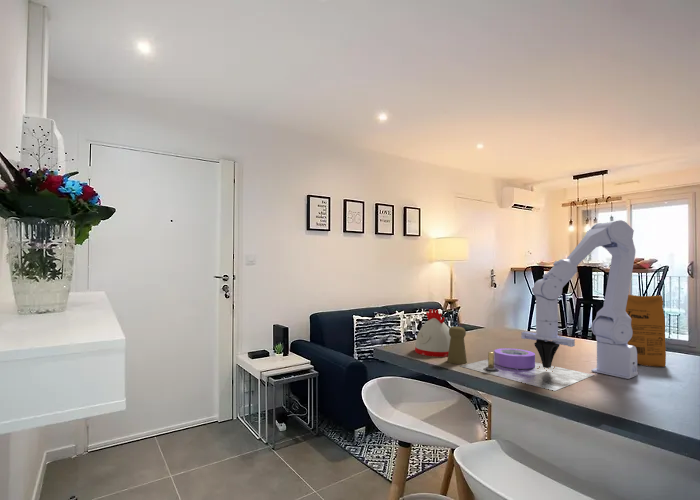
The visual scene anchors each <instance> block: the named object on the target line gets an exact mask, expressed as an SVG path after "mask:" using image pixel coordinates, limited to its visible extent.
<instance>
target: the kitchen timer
mask: <svg viewBox="0 0 700 500" xmlns="http://www.w3.org/2000/svg"><path fill="white" fill-rule="evenodd" d="M425 314H426V317H427V321H425V322H424V324H423V325H422V326H421V327H420V329H419V331H418V332H417V336H416V339H415V340H416V341H415V345H414V347H415V349H414V351H415V353H416V354H418V355H422V356H427V357H428V356H429V357H436V358H442V357H445V358H446V357H447V358H448V352H449V345H450V338H451V337H450V335H449V329H450V327H449V326H448V325H447V324H446V323H445V319H446V317H444V316H443V317H442V315H443V314H442V313H441V312H440V313H439V309H436V308H433V309H430V308H429V309H428V311H426V312H425Z"/></svg>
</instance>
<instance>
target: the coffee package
mask: <svg viewBox="0 0 700 500" xmlns="http://www.w3.org/2000/svg"><path fill="white" fill-rule="evenodd" d="M663 307H664V298H663V296H662V295H646V296H645V295H643V296H642V295H633V294H628V299H627V305H626V313H627V314H628V315H629V316H630V318H631V319H632V320H631V327H632V331H633V334H632V338H631V339H630V340H629V341H628V345H632V346H635V347H636V349H637V365H641V366H645V367H658V368H659V367H663V368H664V367H665V366H666V363H667V362H666V361H667V351H666V349H667V348H666V320H665V310H664V308H663Z"/></svg>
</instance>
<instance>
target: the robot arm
mask: <svg viewBox="0 0 700 500" xmlns="http://www.w3.org/2000/svg"><path fill="white" fill-rule="evenodd" d="M634 231H635V230H634V229H633V228H632V227H631V226H630V224H629V223H628V222H627V221H624V220H622V219H618V220H614V221H609V222H603V223H602V222H599V223H598V222H597V223H596V224H594V225H592V227H591V228H590V229H588V230H587V231H586V233H585V235H584V236H583V238H582V240H580V241H579V243H577V245H576V246H575V248H574V249H573V250H572V251H571V252H570V254H569V255H568V256H567V257H566V258H565V259H563V258H562V259H559V260H555V261H554V262H553V263H552V264H553V266H552V267H551V269H549V270H548V271H547V273H544V274H543V275H542V277H543V278H541V279H538V280H536V281H535V282H534V284H533V287H532V288H531V291H532V294H533V295H534V297H535V332H531V331H521V336H520V337H521V339H524V340H532V341H535V342H534V343H533V344H534V348H536V350H537V352H538V354H539V357H540V361H541V364H542V365H543V367H544V368H550V367H551V366H552V363H553V359H554V357H555V355H556V352H557V350H558V349H559V348H560V345H562V346H567V347H570V348H572V347H575V345H576V344H575V343H576V342H575V338H570V337H565V336H560V335H559V322H558V321H559V314H558V313H559V307H558V306H559V303H558V301H559V300H558V298H559V297H561V296H562V294H563V288H564V287H565V286H566V285H567V283H568V282H570V281H571V279H572V278H574V276H575V275H576V274H577V273H578V266H579V264H581V262H583V260H585V259H586V258H587V257H588V256H589V255H590V254H591V253H592V252H593V251H594V250H595V249H596V248H599V247H602V248H604V249H605V250H606V251H608V253H609V254H610V255H611V259H610V266H609V272H608V276H607V283H606V284H607V285H606V289H605V296H604V300H603V306H602V307H601V308H600V309H599V310H598V311H597V312H596V316H595V319H594V320H593V321H592V323H591V332H592V334H593V335H594V336H595V340H596V367H594V368H592V369H591V370H590V371H591V372H593V373H598V374H602V375H603V374H604V375H607V376H612V377H617V378H621V379H628V380H630V379H631V378H634V377H636V376H638V375H639V373H638V364H637V349H636V347H635V346H632V345H628V341H629V340H630V339H631V338H632V334H633V331H632V327H631V320H632V319H631V318H630V316H629V315H628V314H627V313H626V305H627V299H628V295H630V294H629V293H630V286H631V281H632V276H633V269H634V263H635V257H636V247H635V244H634V239H633V237H634Z"/></svg>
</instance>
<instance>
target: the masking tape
mask: <svg viewBox="0 0 700 500" xmlns="http://www.w3.org/2000/svg"><path fill="white" fill-rule="evenodd" d="M493 351H494V363H495V364H497V365H499V366H503V367H508V368H515V369H530V368H534V367H535V362H536V353H535V352H532V351H530V350H526V349H519V348H508V347H507V348H505V347H504V348H496V349H494V350H493Z"/></svg>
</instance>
